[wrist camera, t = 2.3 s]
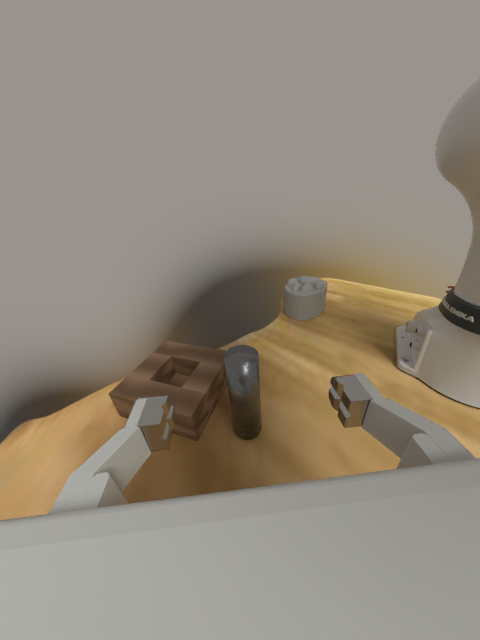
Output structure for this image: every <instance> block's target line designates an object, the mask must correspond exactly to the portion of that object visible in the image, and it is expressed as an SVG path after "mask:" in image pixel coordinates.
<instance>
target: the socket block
mask: <svg viewBox="0 0 480 640" xmlns="http://www.w3.org/2000/svg"><path fill="white" fill-rule="evenodd" d="M225 352H226V350H220V349H213V348H207V347H201V346H195V345H188V344H182V343H176V342H170V341H166V342H164V343H163V344H162V345H161V346H160V347H159V348H158V349H157V350H156V351H155V352H153V354H152V355H150V356H149V357H148V358H147V359H146V360H145V361H144V362H143V363H142V364H140V365H139V366H138V367H137V368H136V369H135V370H134V371H133V372H132V373H131V374H130V375H129V376H128V377H126V378H125V379H124V380H123V381H122V382H121V383H120V384H119V385H118V386H117V387H116V388H114V389H113V390H112V391H111V392H110V393H109V395H110V397H111V399H112V401H113V403H114V405H115V407H116V409H117V411H118V413H119V415H120V416H122V417H125V418H129V416H130V413H131V411H132V409H133V406H134V404H135V402H136V400H137V399H138V398H148V397H158V396H170V397H171V400H172V402H171V405H172V406H173V407H174V409H175V425H174V428H173V429H172V430H171V432H172V433H175V434H178V435H181V436H184V437H187V438H191V439H194V440H198V439H199V437H200V435H201V433H202V431H203V429H204V427H205V425H206V423H207V421H208V419H209V418H210V416H211V414H212V412H213V410H214V408H215V406H216V404H217V402H218V400H219V399H220V397H221V395H222V393H223V391H224V389H225V387H226V385H227V377H226V370H225V363H224V354H225Z"/></svg>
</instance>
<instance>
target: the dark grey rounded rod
mask: <svg viewBox="0 0 480 640" xmlns="http://www.w3.org/2000/svg"><path fill="white" fill-rule="evenodd" d="M224 363H225V370H226V377H227V384H228V392H229V399H230V406H231V413H232V421H233V428H234V432H235V434H236V435H237V436H238V437H239V438H241V439H243V440H251V439H254V438H255V437H257V436H258V435H259V433H260V431H261V408H260V383H259V358H258V352H257V350H256V349H254V348H253V347H250V346H246V345H239V346H234V347H232V348H230V349H228V350H227V351H226V352H225V354H224Z"/></svg>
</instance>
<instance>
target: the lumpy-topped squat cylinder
mask: <svg viewBox="0 0 480 640" xmlns="http://www.w3.org/2000/svg"><path fill="white" fill-rule="evenodd" d="M284 292H285V294H284V312H285V314H286V315H287V316H288V317H289V318H291V319H294V320H309V319H313V318H316V317H318V316H320V315H321V313H322V312H323V310H324V307H325V300H326V292H327V282H326V281H324V280H321V279H320V278H317V277H308V276H301V277H299V278H295V279H294V278H291V279H289V280H288V282H287V284H286V286H285V291H284Z"/></svg>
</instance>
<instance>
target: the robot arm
mask: <svg viewBox="0 0 480 640" xmlns="http://www.w3.org/2000/svg"><path fill="white" fill-rule="evenodd" d="M435 156H436V163H437V167H438V169H439V171H440V173H441V174H442V176H443V177H444V178H445V179H446V180H447V181H448V182H450V183H451V184H452V185H454V186H455V187H456V188H457V189H458V190H459V191H460V193H461V194H462V195H463V196H464V198H465V200H466V202H467V204H468V206H469V209H470V211H471V216H472V224H473V234H472V241H471V245H470V248H469V251H468V254H467V258H466V261H465V264H464V266H463V269H462V272H461V274H460V277H459V279H458V282H457V284H456V286H455V287H453V286H448V288H453V289H451V290H450V291H446V293H448V294H447V295H446V296H445V297H444V298H443V299H442V302H441V303H440V304H439V306H436V307H433V308H429V309H425V310H422V311H419V312H418V313H417V314H416V315H415V317H414V319H413V321H407V323H406V325H402V326H398V327H397V328H396V356H397V367H398V368H399V369H400V370H402V371H404V372H406V373H408V374H410V375H413V376H415V377H417V378H419V379H420V380H422V381H423V382H425V383H426V384H427V385H429V386H430V387H432V388H433V389H435V390H436V391H438V392H440V393H442V394H444V395H446V396H448V397H450V398H452V399H454V400H457V401H459V402H462V403H465V404H467V405H471V406H474V407H477V408H480V77H479V78H478V79H477V80H476V81H475V82H474V83H473V84H472V85H471V86H470V87H469V88H468V89H467V90H466V91H465V92H464V94H463V95H462V96H461V97H460V98H459V99H458V101H457V102H456V103H455V105H454V106H453V108H452V109H451V111H450V112H449V114H448V115H447V117H446V119H445V121H444V123H443V125H442V127H441V130H440V132H439V135H438V139H437V143H436V151H435ZM330 383H331V384H332V387H331V388H330V389H329V400H330V402H331V405H332V407H333V408H334V409H335V410H337V411H338V418H339V419H340V421H341V423H342V425H343V426H344V428H349V427H359V426H362V428H363V429H365V430H366V431H367V432H368V433H370V434H371V435H372V436H373V437H375V438H376V439H377V440H378V441H380V442H381V443H382V444H383V445H385V446H386V447H387V448H388V449H390V450H391V451H392V452H393V453H395V454H396V455H397V456H398V457H400V458H401V460H400V462H399V464H398V466H397V468H396V469H393V470H385V471H377V472H370V473H362V474H354V475H347V476H339V477H331V478H323V479H316V480H308V481H300V482H292V483H285V484H277V485H269V486H262V487H254V488H246V489H239V490H231V491H223V492H216V493H208V494H200V495H192V496H185V497H177V498H169V499H162V500H154V501H146V502H139V503H131V504H129V503H128V501H127V500H126V498H125V497H124V495H123V494H122V492H123V490H124V489H125V488H126V486H127V485H128V484H129V482H130V481H131V480H132V478H133V477H134V476H135V474H136V473H137V472H138V470H139V469H140V468H141V466H142V465H143V464H144V462H145V461H146V459H147V458H148V457H149V455H150V454H151V452H153V451H160V450H167V449H170V445H171V440H172V433H171V430H172V429H173V428H174V425H175V409H174V407H173V406H172V405H171V402H172V400H171V397H170V396H158V397H148V398H138V399H137V400H136V402H135V404H134V406H133V409H132V411H131V413H130V416H129V418H128V420H127V423H126V425H125V427H124V429H120V430H119V431H118V432H117V433H116V434H115V435H114V436H113V437H112V438H110V439H109V440H108V441H107V442H106V443H105V444H104V445H103V446H102V447H101V448H100V449H98V450H97V451H96V452H95V453H94V454H93V455H92V456H91V457H90V458H89V459H88V460H86V461H85V462H84V463H83V464H82V465H81V466H80V467H79V468H78V469H77V470H75V471H74V472H73V473H72V474H71V475H70V476H69V478H68V480H67V482H66V483H65V485H64V487H63V489H62V491H61V493H60V494H59V496H58V498H57V500H56V502H55V503H54V505H53V507H52V509H51V511H50V512H49V514H46V515H38V516H30V517H22V518H15V519H7V520H0V640H480V458H477V459H476V458H475V457H474V456H473V455H472V454H471V453H470V452H469V451H468V450H467V449H466V448H465V447H464V446H463V445H462V444H461V443H460V442H459V441H458V440H457V439H456V438H455V437H454V436H453V435H452V434H451V433H450V432H449V431H448V430H447V429H445V428H443V427H441V426H440V425H438V424H436V423H434V422H432V421H430V420H428V419H426V418H424V417H423V416H421V415H419V414H417V413H415V412H413V411H411V410H409V409H407V408H406V407H404V406H402V405H400V404H398V403H396V402H394V401H392V400H390V399H389V398H384V397H383V396H382V395H381V394H380V392H379V391H378V390H377V389H376V388H375V386H374V385H373V384H372V383H371V382H370V381H369V379H368V378H367V377H366V376H365V375H364V374H362V373H361V374H353V375H344V376H336V377H332V378H331V382H330Z"/></svg>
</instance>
